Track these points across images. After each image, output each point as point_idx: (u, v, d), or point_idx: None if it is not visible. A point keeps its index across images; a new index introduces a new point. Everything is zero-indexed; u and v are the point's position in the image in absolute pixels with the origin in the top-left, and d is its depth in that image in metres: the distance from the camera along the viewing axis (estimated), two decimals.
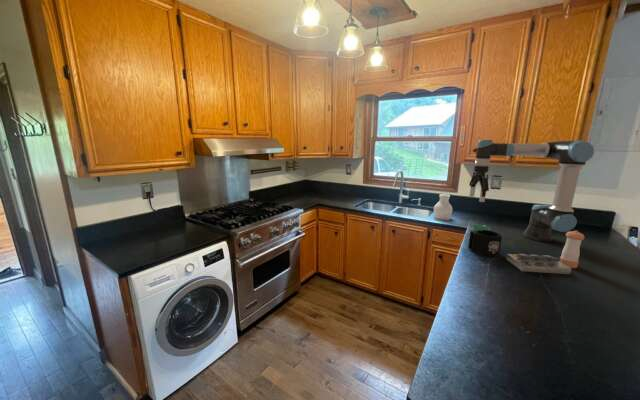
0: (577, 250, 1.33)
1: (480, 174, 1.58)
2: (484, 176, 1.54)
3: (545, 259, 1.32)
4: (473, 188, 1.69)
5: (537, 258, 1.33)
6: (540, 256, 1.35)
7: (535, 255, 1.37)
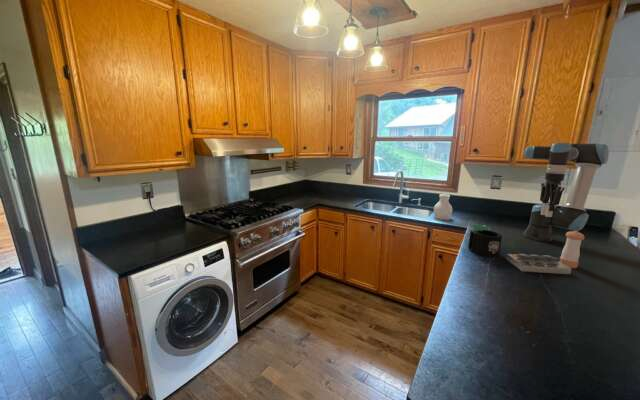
0: (577, 250, 1.33)
1: (555, 183, 1.35)
2: (559, 189, 1.32)
3: (545, 259, 1.32)
4: (546, 204, 1.42)
5: (537, 258, 1.33)
6: (540, 256, 1.35)
7: (535, 255, 1.37)
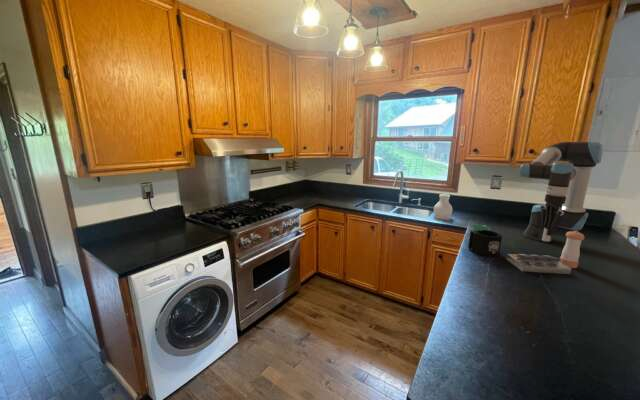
0: (577, 250, 1.33)
1: (555, 206, 1.24)
2: (559, 214, 1.22)
3: (545, 259, 1.32)
4: None
5: (537, 258, 1.33)
6: (540, 256, 1.35)
7: (535, 255, 1.37)
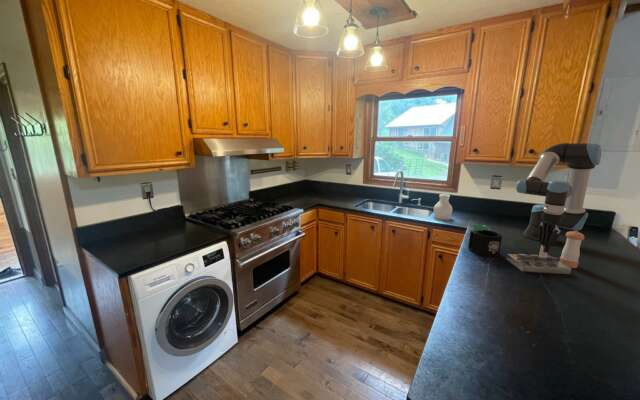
0: (577, 250, 1.33)
1: (552, 224, 1.25)
2: (556, 232, 1.23)
3: (545, 259, 1.32)
4: None
5: (537, 258, 1.33)
6: None
7: (535, 255, 1.37)
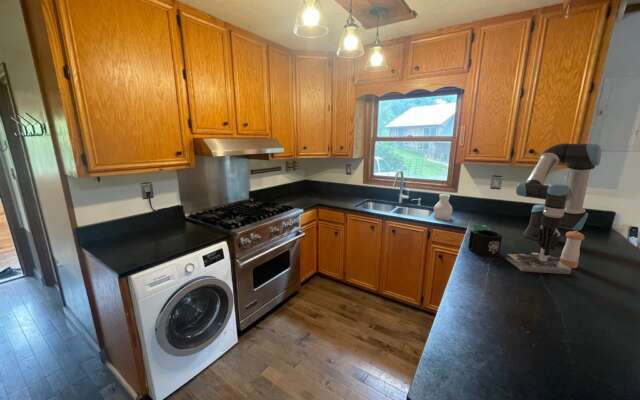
0: (577, 250, 1.33)
1: (552, 227, 1.25)
2: (556, 235, 1.23)
3: (544, 261, 1.32)
4: None
5: (537, 260, 1.33)
6: None
7: (536, 254, 1.37)
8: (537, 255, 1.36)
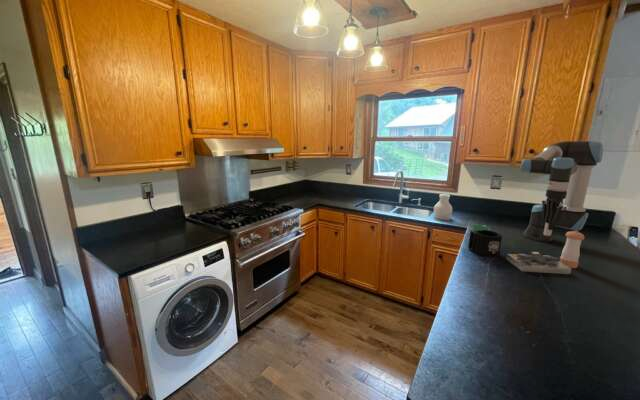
0: (577, 250, 1.33)
1: (556, 201, 1.25)
2: (561, 209, 1.23)
3: (544, 262, 1.32)
4: None
5: (536, 261, 1.33)
6: (541, 256, 1.35)
7: (536, 253, 1.37)
8: (537, 255, 1.36)
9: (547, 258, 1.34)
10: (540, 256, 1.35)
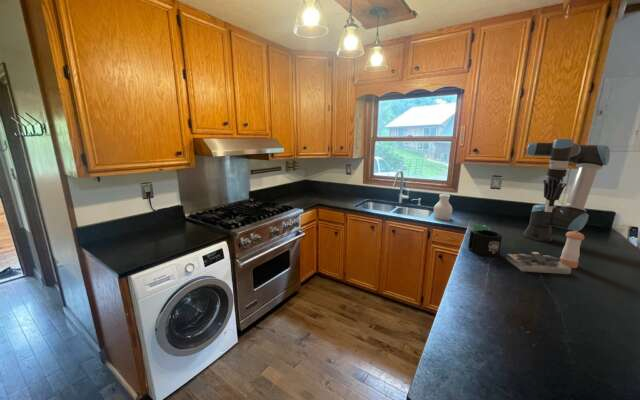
0: (577, 250, 1.33)
1: (557, 178, 1.36)
2: (561, 185, 1.34)
3: (544, 262, 1.32)
4: None
5: (536, 260, 1.33)
6: (541, 256, 1.35)
7: (536, 253, 1.37)
8: (537, 255, 1.36)
9: (547, 258, 1.34)
10: (540, 256, 1.35)
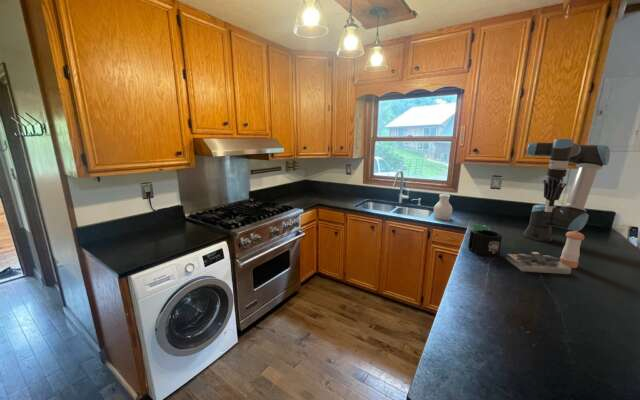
0: (577, 250, 1.33)
1: (557, 178, 1.36)
2: (561, 185, 1.34)
3: (544, 262, 1.32)
4: None
5: (536, 260, 1.33)
6: (541, 256, 1.35)
7: (536, 253, 1.37)
8: (537, 255, 1.36)
9: (547, 258, 1.34)
10: (540, 256, 1.35)
